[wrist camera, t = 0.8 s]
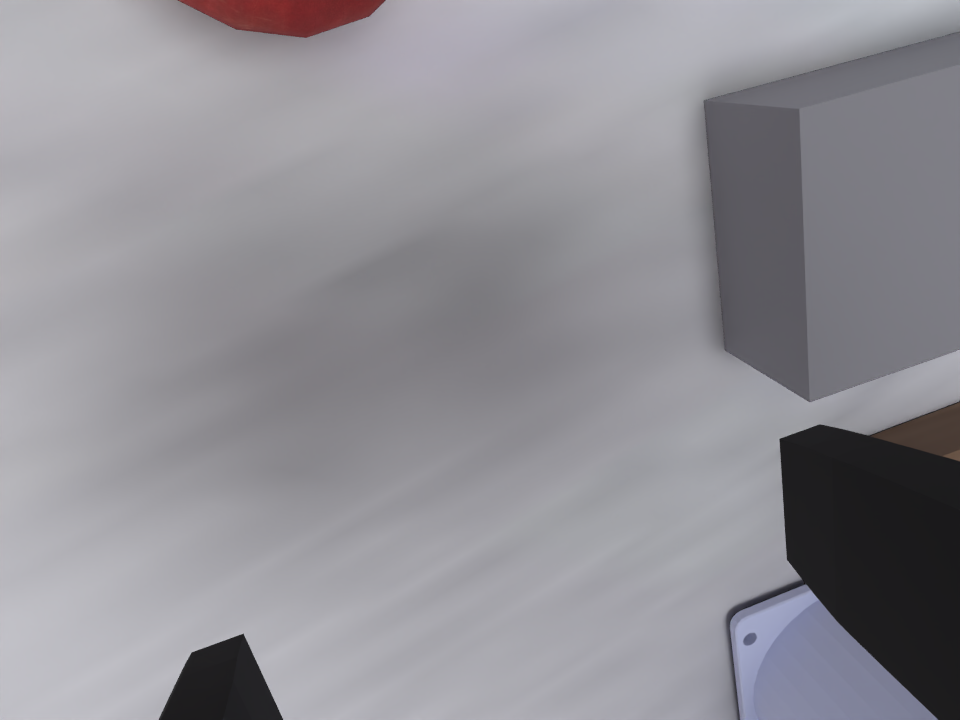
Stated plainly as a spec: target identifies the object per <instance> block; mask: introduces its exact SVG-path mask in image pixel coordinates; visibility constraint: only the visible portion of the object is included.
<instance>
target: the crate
mask: <svg viewBox="0 0 960 720" xmlns="http://www.w3.org/2000/svg"><path fill="white" fill-rule="evenodd" d="M704 108H705V120H706V132H707V144H708V156H709V168H710V179H711V191H712V203H713V215H714V227H715V239H716V250H717V262H718V274H719V286H720V298H721V310H722V321H723V333H724V345H725V350H726V351H727V352H729V353H730V354H732V355H734V356H735V357H737V358H739V359H740V360H742V361H743V362H745V363H747V364H748V365H750V366H752V367H753V368H755V369H756V370H758V371H760V372H761V373H763V374H765V375H766V376H768V377H770V378H771V379H773V380H774V381H776V382H778V383H779V384H781V385H783V386H784V387H786V388H787V389H789V390H791V391H792V392H794V393H796V394H797V395H799V396H800V397H802V398H804V399H805V400H807V401H809V402H812V401H815V400H817V399H820V398H823V397H826V396H829V395H832V394H835V393H837V392H840V391H843V390H846V389H849V388H852V387H855V386H857V385H860V384H863V383H866V382H869V381H872V380H875V379H877V378H880V377H883V376H886V375H889V374H892V373H895V372H897V371H900V370H903V369H906V368H909V367H912V366H915V365H917V364H920V363H923V362H926V361H929V360H932V359H935V358H937V357H940V356H943V355H946V354H949V353H952V352H955V351H957V350H960V32H957V33H953V34H949V35H945V36H942V37H938V38H934V39H931V40H927V41H923V42H919V43H916V44H912V45H908V46H905V47H901V48H897V49H893V50H890V51H886V52H882V53H879V54H875V55H871V56H867V57H864V58H860V59H856V60H853V61H849V62H845V63H841V64H838V65H834V66H830V67H827V68H823V69H819V70H815V71H812V72H808V73H804V74H801V75H797V76H793V77H790V78H786V79H782V80H778V81H775V82H771V83H767V84H764V85H760V86H756V87H752V88H749V89H745V90H741V91H738V92H734V93H730V94H726V95H723V96H719V97H715V98H712V99H708V100H704Z"/></svg>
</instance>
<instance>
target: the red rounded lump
mask: <svg viewBox="0 0 960 720" xmlns="http://www.w3.org/2000/svg"><path fill="white" fill-rule="evenodd" d="M178 1H180V2H182V3H184V4H186V5H188V6H190V7H192V8H194V9H196V10H198V11H200V12H202V13H204V14H206V15H208V16H210V17H212V18H214V19H216V20H218V21H220V22H222V23H224V24H226V25H228V26H230V27H232V28H234V29H237V30H246V31H254V32H262V33H270V34H279V35H287V36H295V37H304V38H307V37H310V36H313V35H316V34H318V33H321V32H324V31H327V30H330V29H333V28H336V27H339V26H342V25H345V24H348V23H351V22H354V21H357V20H360V19H363V18H366V17H369V16H370V15H371V14H372V13H373V12H374V11H375V10H376V9H377V8H378V7H379V6H380V5H381V4H382V3H383V2H384V1H385V0H178Z"/></svg>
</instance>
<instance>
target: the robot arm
mask: <svg viewBox="0 0 960 720" xmlns="http://www.w3.org/2000/svg"><path fill="white" fill-rule="evenodd" d="M780 452H781V469H782V485H783V502H784V518H785V535H786V551H787V560H788V561H789V563H790V564H791V565H792V567H793V568H794V569H795V570H796V572H797V573H798V574H799V575H800V577H801V578H802V579H803V581H804V582H805V583H806V584H805V585H803V586H800V587H798V588H795V589H793V590H790V591H788V592H785V593H783V594H780V595H778V596H776V597H773V598H771V599H768V600H766V601H763V602H761V603H758V604H756V605H753V606H751V607H748V608H746V609H744V610H741V611H739V612H738V613H736V614H735V615H734V616H733V618H732V620H731V622H730V632H731V641H732V650H733V660H734V669H735V678H736V687H737V696H738V705H739V714H740V720H960V461H957V460H954V459H950V458H946V457H943V456H939V455H936V454H932V453H929V452H925V451H921V450H918V449H914V448H911V447H907V446H903V445H900V444H896V443H893V442H889V441H885V440H882V439H878V438H874V437H871V436H867V435H863V434H859V433H855V432H851V431H847V430H843V429H839V428H834V427H829V426H825V425H817V426H814V427H811V428H809V429H806V430H803V431H800V432H798V433H795V434H792V435H789V436H787V437H784V438H781V439H780ZM159 720H283V718H282V716H281V714H280V712H279V710H278V707H277V705H276V703H275V701H274V699H273V697H272V695H271V692H270V690H269V688H268V686H267V684H266V682H265V679H264V677H263V675H262V673H261V671H260V669H259V666H258V664H257V662H256V660H255V658H254V656H253V653H252V651H251V649H250V647H249V645H248V643H247V641H246V638H245V636H244V634H242V635H239V636H236V637H233V638H231V639H228V640H225V641H222V642H220V643H217V644H214V645H211V646H209V647H206V648H203V649H200V650H198V651H195V652H192V653H191V655H190V657H189V658H188V660H187V662H186V664H185V666H184V668H183V670H182V672H181V674H180V676H179V678H178V680H177V682H176V684H175V686H174V689H173V691H172V693H171V695H170V697H169V699H168V701H167V703H166V705H165V708H164V710H163V712H162V714H161V716H160V718H159Z"/></svg>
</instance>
